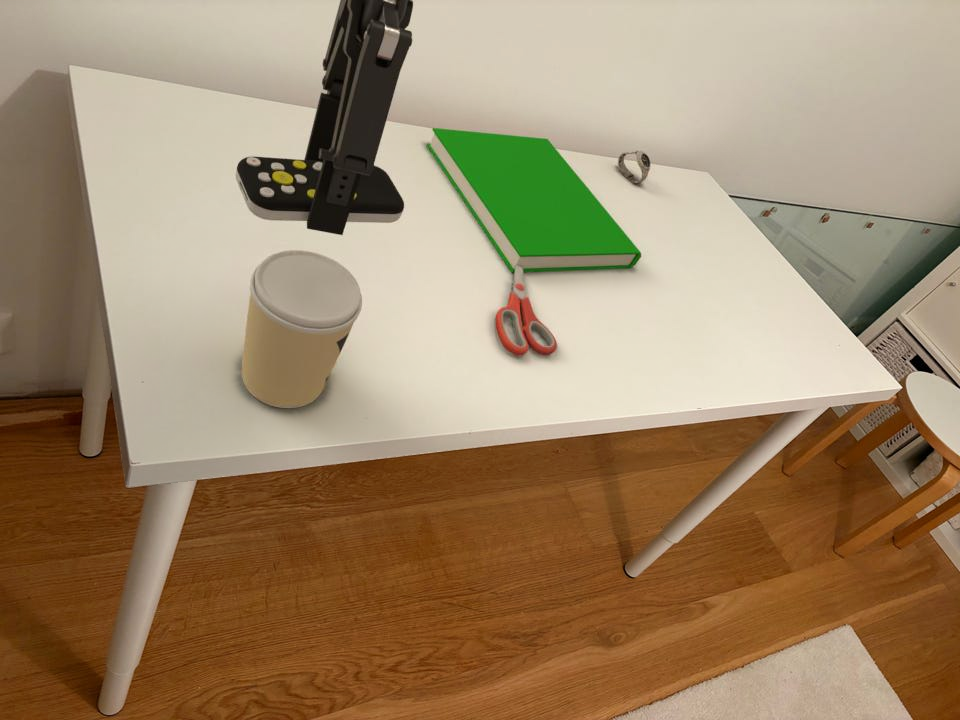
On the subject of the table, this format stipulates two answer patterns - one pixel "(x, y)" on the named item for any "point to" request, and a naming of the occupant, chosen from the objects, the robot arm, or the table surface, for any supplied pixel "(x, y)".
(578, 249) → the book
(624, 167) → the wristwatch
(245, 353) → the coffee cup
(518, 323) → the scissors
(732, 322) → the table surface
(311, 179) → the remote control
